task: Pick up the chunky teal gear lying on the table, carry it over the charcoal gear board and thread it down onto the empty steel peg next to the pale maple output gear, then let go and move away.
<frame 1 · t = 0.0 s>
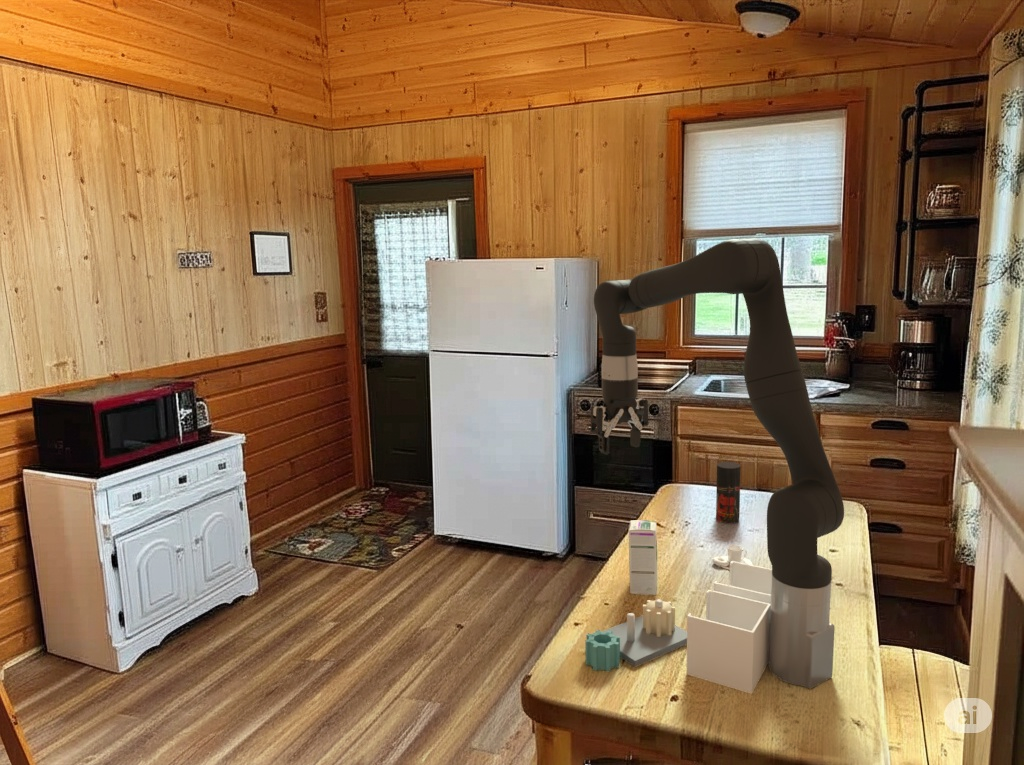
hand: (620, 449, 156), 29 cm above the table, tool pointing down, fingers open, 8 cm apart
deodorant: (727, 520, 192), on the table
white folded wall panels: (740, 650, 131), on the table
syrup box: (643, 589, 155), on the table
teacup and saucer: (723, 561, 169), on the table
gear: (602, 662, 128), on the table
board: (643, 640, 135), on the table
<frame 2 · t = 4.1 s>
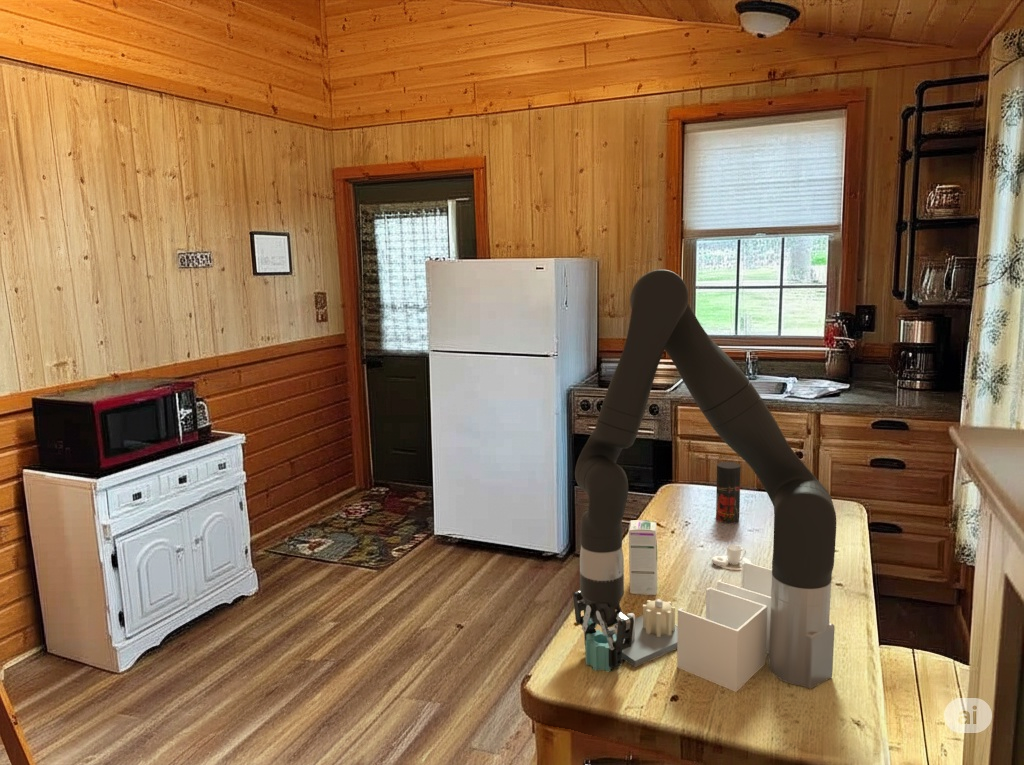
hand: (602, 657, 128), 1 cm above the table, tool pointing down, fingers closed on gear, 6 cm apart
gear: (602, 662, 128), on the table, touching gripper
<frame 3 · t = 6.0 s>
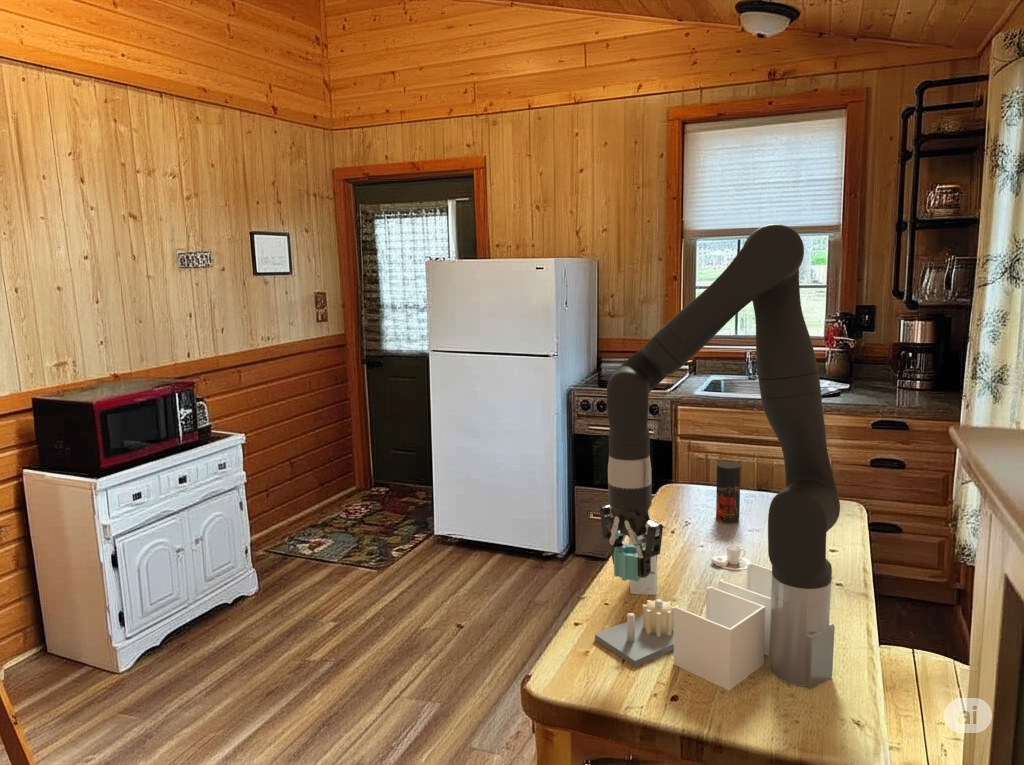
hand: (630, 569, 130), 15 cm above the table, tool pointing down, fingers closed on gear, 6 cm apart
gear: (630, 573, 130), point 14 cm above the table, touching gripper
when the fingers open (4 cm above the table, at t = 8.4 s): gear drops 2 cm, resting on board.
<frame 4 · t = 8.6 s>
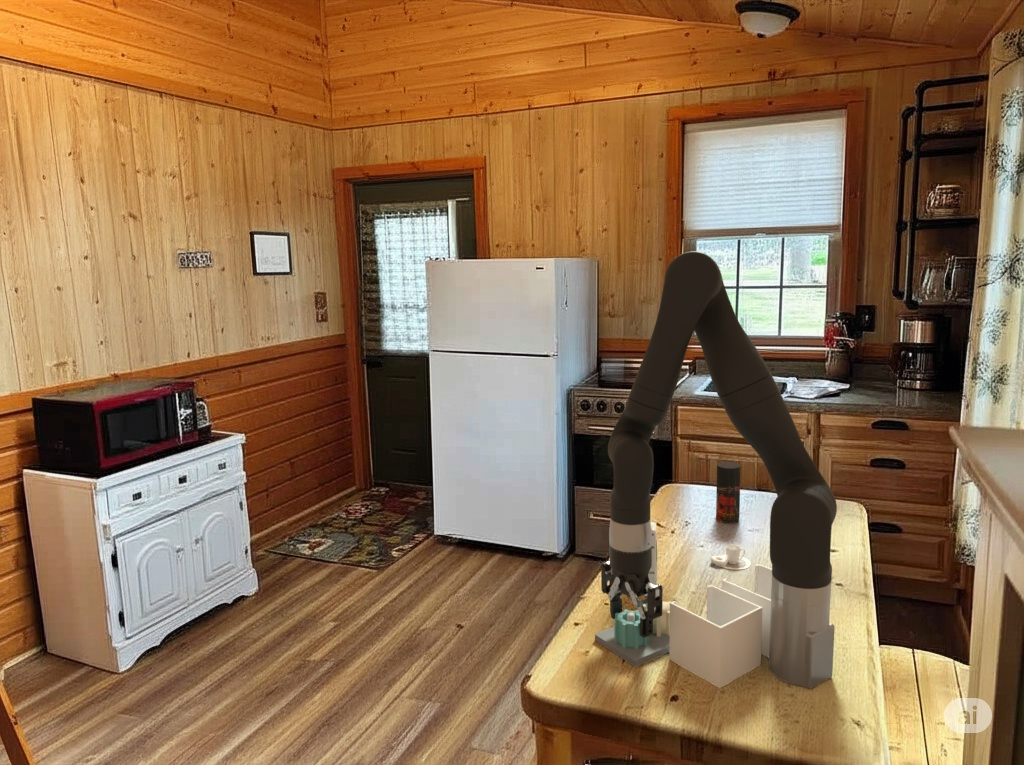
hand: (630, 626, 132), 4 cm above the table, tool pointing down, fingers open, 7 cm apart
gear: (630, 640, 133), point 1 cm above the table, touching board
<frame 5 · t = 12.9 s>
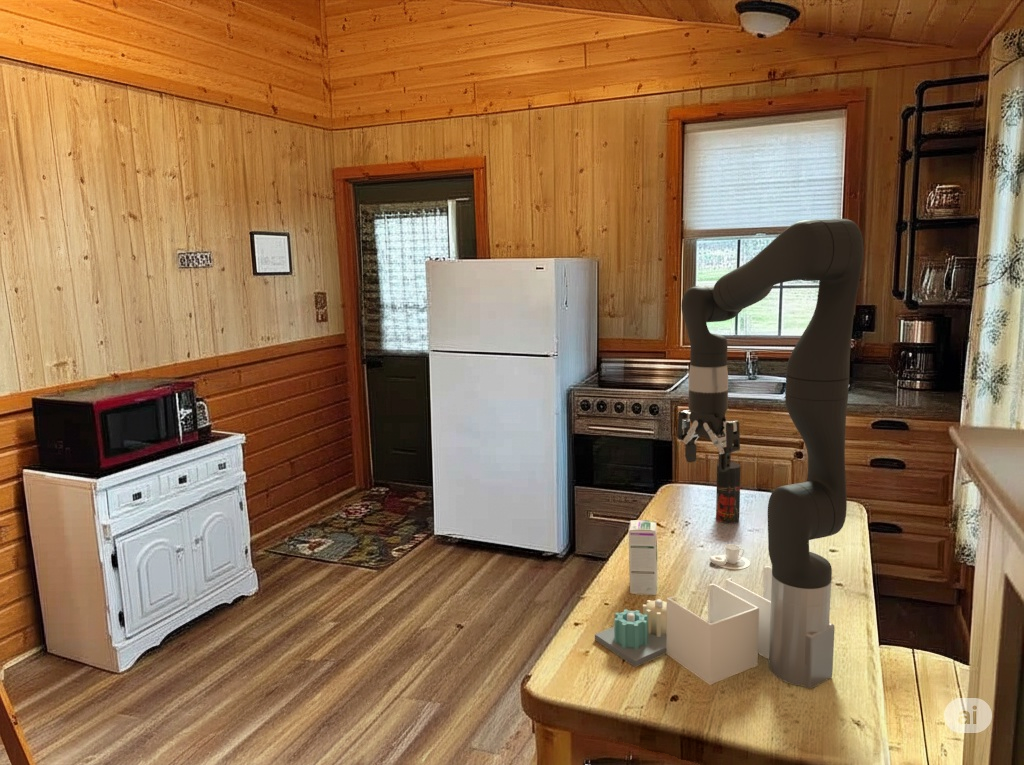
hand: (707, 466, 146), 28 cm above the table, tool pointing down, fingers open, 8 cm apart
at the end: gear 0.0 cm from the target spot on the board, point 1.2 cm above the board's base; gear tilted 0°; the gripper is holding nothing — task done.
